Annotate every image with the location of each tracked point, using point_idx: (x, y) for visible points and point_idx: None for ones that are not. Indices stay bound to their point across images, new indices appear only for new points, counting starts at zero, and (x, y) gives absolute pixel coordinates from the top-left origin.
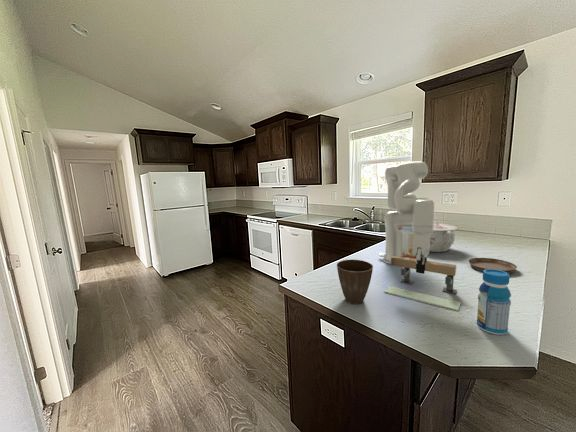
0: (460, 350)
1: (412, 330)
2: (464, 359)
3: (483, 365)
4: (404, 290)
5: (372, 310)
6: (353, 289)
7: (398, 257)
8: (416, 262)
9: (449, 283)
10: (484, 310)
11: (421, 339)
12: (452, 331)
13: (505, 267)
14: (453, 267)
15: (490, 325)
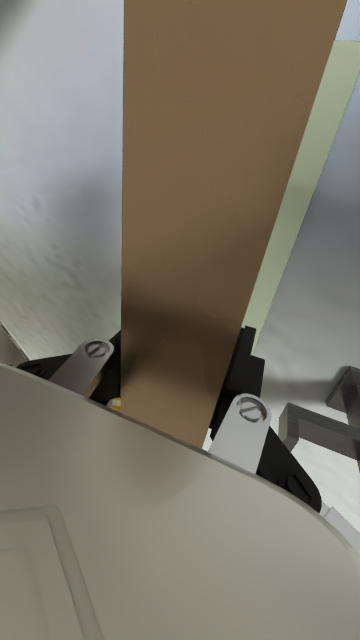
0: (28, 323)
1: (20, 236)
2: (11, 323)
3: (18, 344)
4: (299, 182)
5: (24, 56)
6: None
7: (214, 18)
8: (81, 347)
9: (280, 419)
10: None
11: (6, 257)
12: (76, 326)
13: None
14: None
15: None
